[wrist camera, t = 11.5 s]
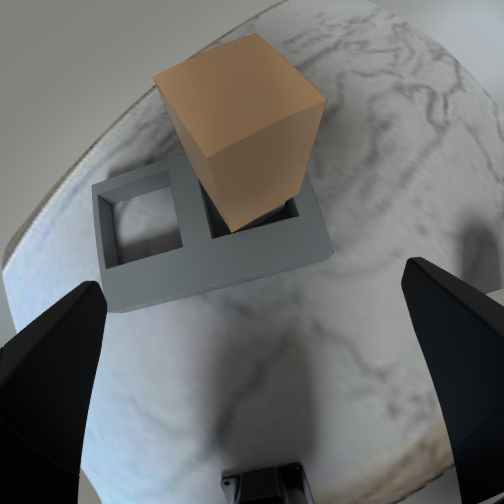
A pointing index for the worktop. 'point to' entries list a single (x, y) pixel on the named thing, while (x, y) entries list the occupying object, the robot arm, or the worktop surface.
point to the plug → (244, 126)
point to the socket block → (199, 240)
